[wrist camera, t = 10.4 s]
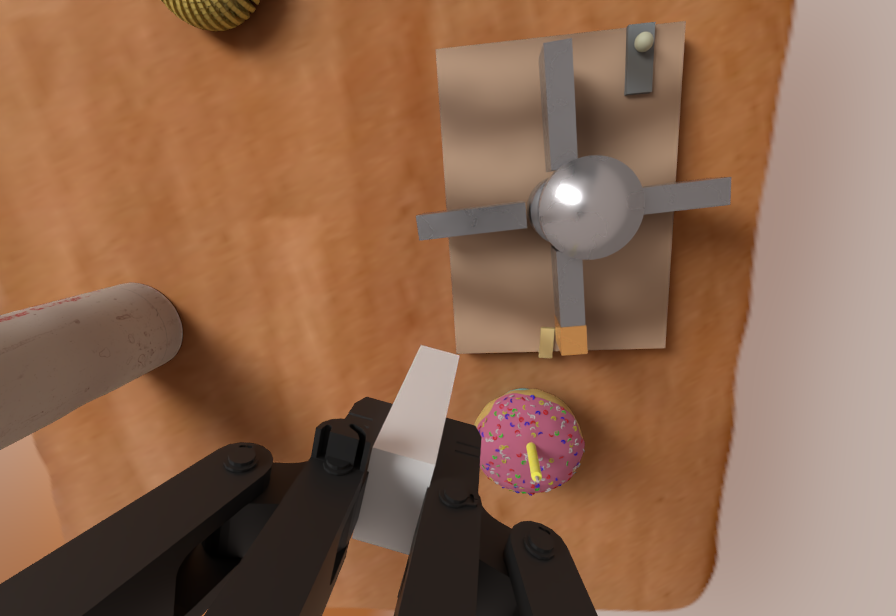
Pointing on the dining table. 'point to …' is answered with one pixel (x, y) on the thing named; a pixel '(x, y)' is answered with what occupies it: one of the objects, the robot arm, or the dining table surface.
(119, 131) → the dining table surface
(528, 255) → the stand
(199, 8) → the sculpture
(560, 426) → the cupcake
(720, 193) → the capstan
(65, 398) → the thermos bottle
